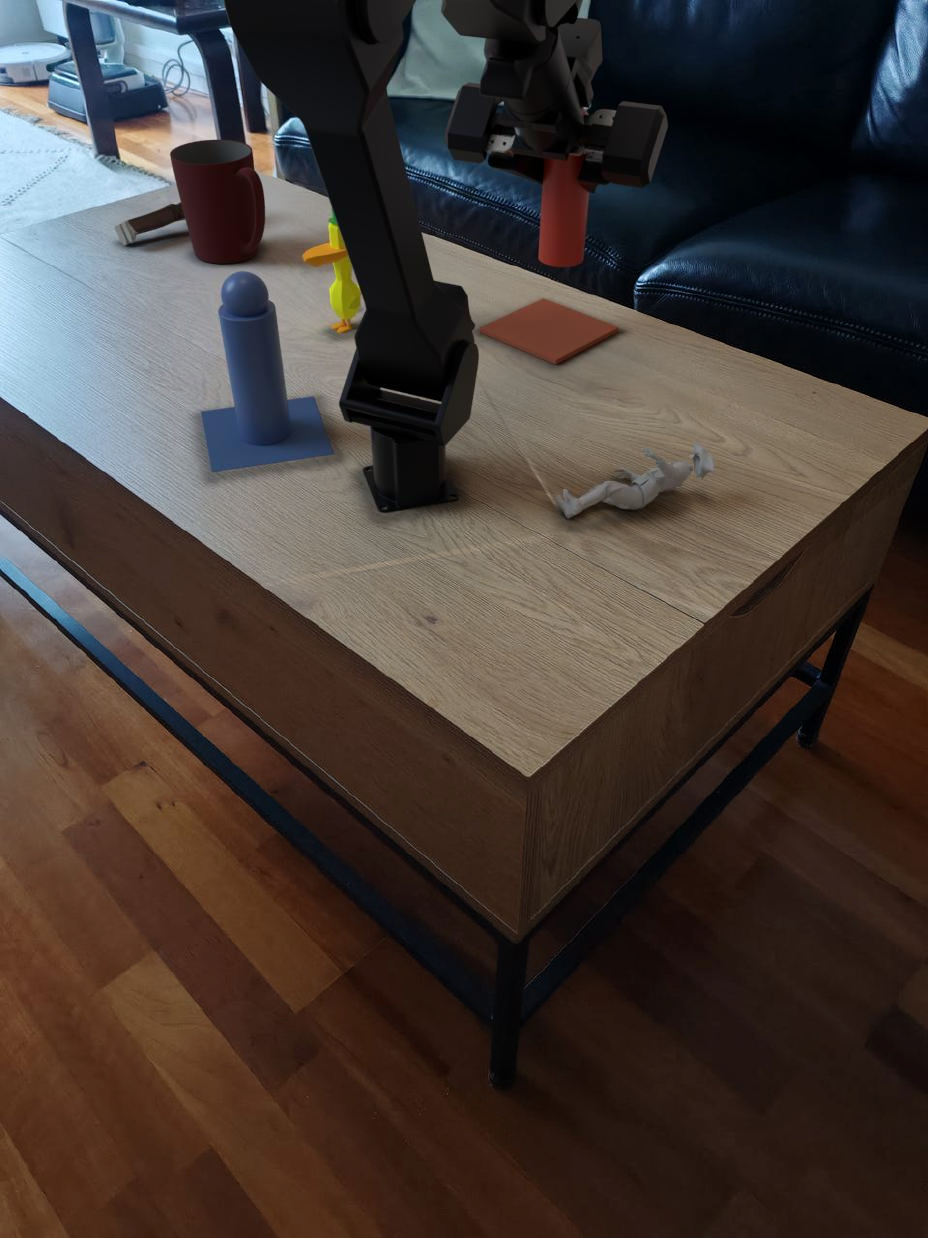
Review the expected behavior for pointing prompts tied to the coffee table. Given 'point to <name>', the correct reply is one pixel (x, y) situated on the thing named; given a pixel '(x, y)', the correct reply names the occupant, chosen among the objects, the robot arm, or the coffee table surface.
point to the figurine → (149, 222)
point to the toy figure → (337, 275)
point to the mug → (220, 199)
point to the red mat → (549, 330)
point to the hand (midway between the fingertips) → (571, 184)
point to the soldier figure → (639, 483)
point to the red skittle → (563, 212)
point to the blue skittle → (254, 359)
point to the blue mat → (237, 453)
